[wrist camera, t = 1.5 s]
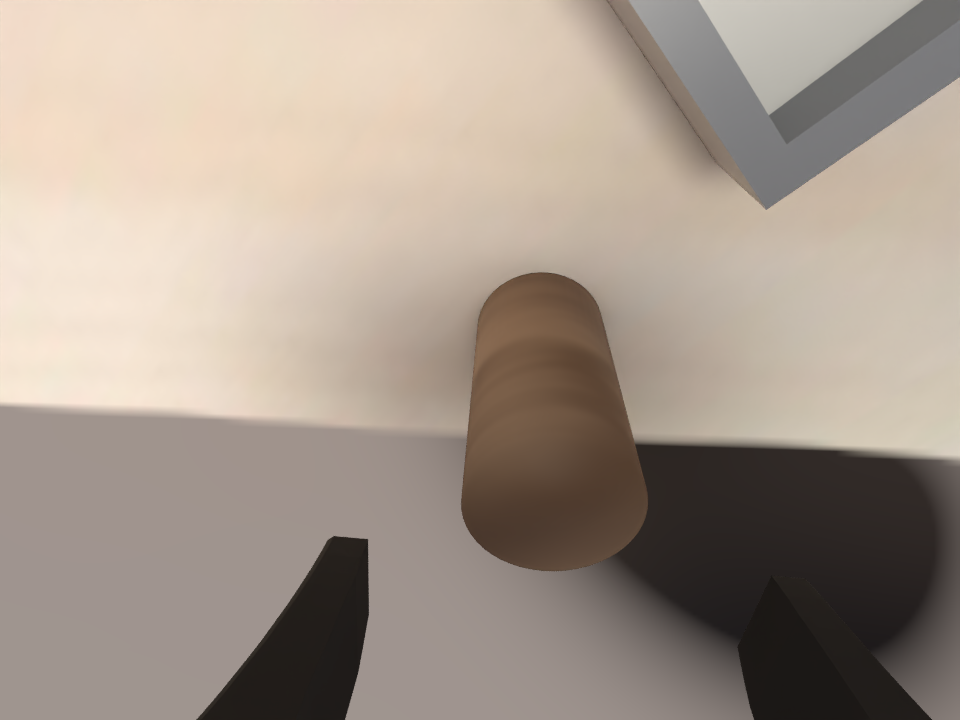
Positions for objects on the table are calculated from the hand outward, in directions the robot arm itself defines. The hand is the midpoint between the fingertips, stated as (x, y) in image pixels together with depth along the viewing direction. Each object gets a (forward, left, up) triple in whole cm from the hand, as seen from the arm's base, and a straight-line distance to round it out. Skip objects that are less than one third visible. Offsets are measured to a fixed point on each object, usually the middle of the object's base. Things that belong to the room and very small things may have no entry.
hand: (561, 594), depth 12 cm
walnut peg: (0, 0, -10) cm, 10 cm away
